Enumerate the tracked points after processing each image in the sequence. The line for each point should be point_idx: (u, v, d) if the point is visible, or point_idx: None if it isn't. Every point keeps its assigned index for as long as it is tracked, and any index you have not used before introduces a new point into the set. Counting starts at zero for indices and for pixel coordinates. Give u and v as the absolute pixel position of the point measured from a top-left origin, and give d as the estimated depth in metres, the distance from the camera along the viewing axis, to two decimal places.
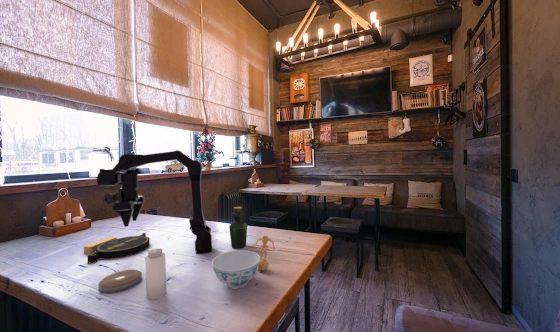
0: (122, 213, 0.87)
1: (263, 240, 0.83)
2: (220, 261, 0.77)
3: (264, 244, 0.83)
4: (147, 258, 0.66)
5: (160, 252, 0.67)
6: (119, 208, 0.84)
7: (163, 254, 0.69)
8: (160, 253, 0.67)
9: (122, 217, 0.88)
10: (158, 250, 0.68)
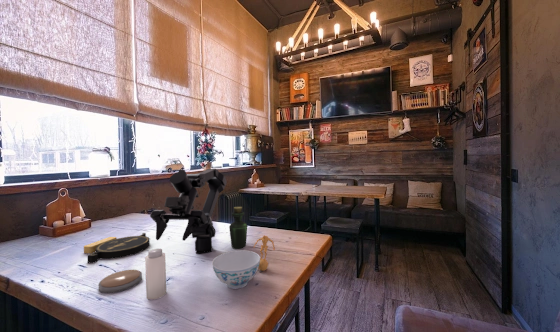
0: None
1: (263, 240, 0.83)
2: (220, 261, 0.77)
3: (264, 244, 0.83)
4: (147, 258, 0.66)
5: (160, 252, 0.67)
6: (203, 218, 0.80)
7: (163, 254, 0.69)
8: (160, 253, 0.67)
9: (190, 228, 0.77)
10: (158, 250, 0.68)
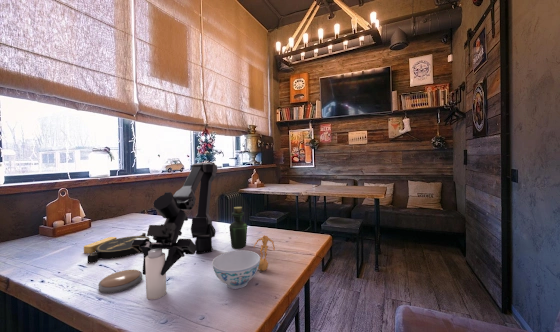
0: None
1: (263, 240, 0.83)
2: (220, 261, 0.77)
3: (264, 244, 0.83)
4: (147, 258, 0.66)
5: (160, 252, 0.67)
6: (191, 247, 0.71)
7: (163, 254, 0.69)
8: (160, 253, 0.67)
9: (170, 260, 0.68)
10: (158, 250, 0.68)
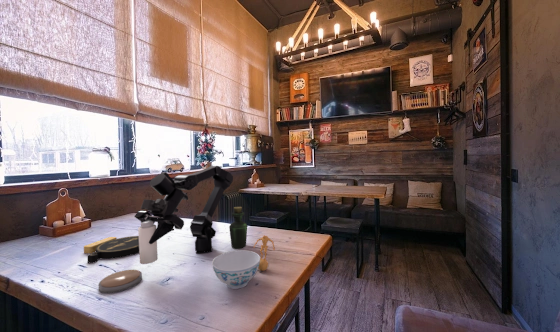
0: (161, 227, 0.77)
1: (263, 240, 0.83)
2: (220, 261, 0.77)
3: (264, 244, 0.83)
4: (139, 227, 0.76)
5: (150, 223, 0.76)
6: (177, 222, 0.77)
7: (154, 226, 0.77)
8: (150, 224, 0.76)
9: (158, 232, 0.76)
10: (149, 222, 0.77)
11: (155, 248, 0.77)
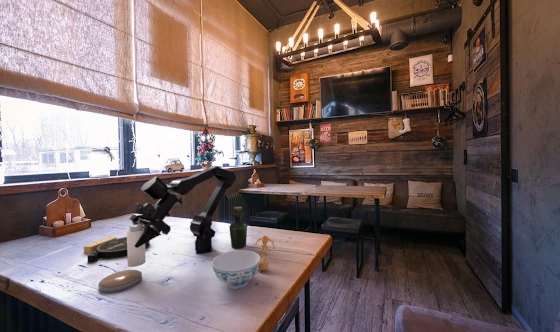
0: (148, 232, 0.78)
1: (263, 240, 0.83)
2: (220, 261, 0.77)
3: (264, 244, 0.83)
4: (128, 230, 0.78)
5: (137, 227, 0.77)
6: (161, 228, 0.76)
7: (141, 230, 0.78)
8: (137, 228, 0.77)
9: (144, 236, 0.77)
10: (137, 225, 0.78)
11: (142, 252, 0.78)
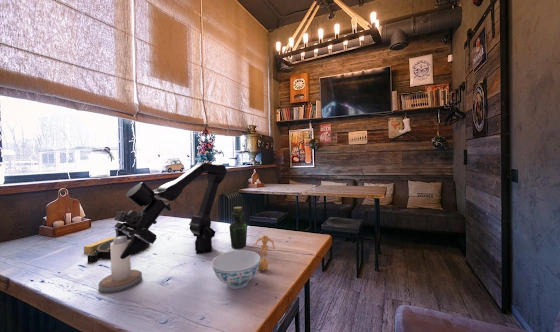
0: (134, 242, 0.73)
1: (263, 240, 0.83)
2: (220, 261, 0.77)
3: (264, 244, 0.83)
4: (112, 243, 0.74)
5: (121, 239, 0.73)
6: (146, 237, 0.72)
7: (126, 242, 0.74)
8: (121, 240, 0.73)
9: (130, 246, 0.72)
10: (122, 237, 0.74)
11: (127, 265, 0.74)
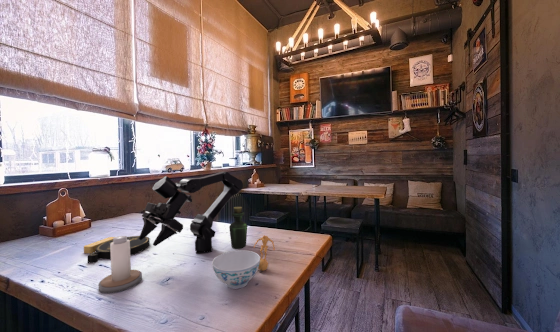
0: (164, 231, 0.81)
1: (263, 240, 0.83)
2: (220, 261, 0.77)
3: (264, 244, 0.83)
4: (112, 243, 0.74)
5: (121, 239, 0.73)
6: (175, 227, 0.81)
7: (126, 242, 0.75)
8: (121, 240, 0.73)
9: (161, 235, 0.80)
10: (122, 237, 0.74)
11: (127, 265, 0.74)
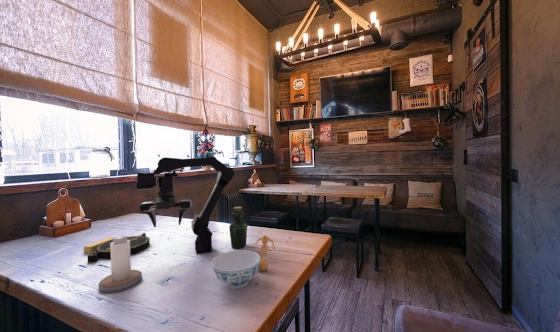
0: None
1: (263, 240, 0.83)
2: (220, 261, 0.77)
3: (264, 244, 0.83)
4: (112, 243, 0.74)
5: (121, 239, 0.73)
6: (190, 205, 0.96)
7: (126, 242, 0.75)
8: (121, 240, 0.73)
9: (182, 215, 0.95)
10: (122, 237, 0.74)
11: (127, 265, 0.74)
